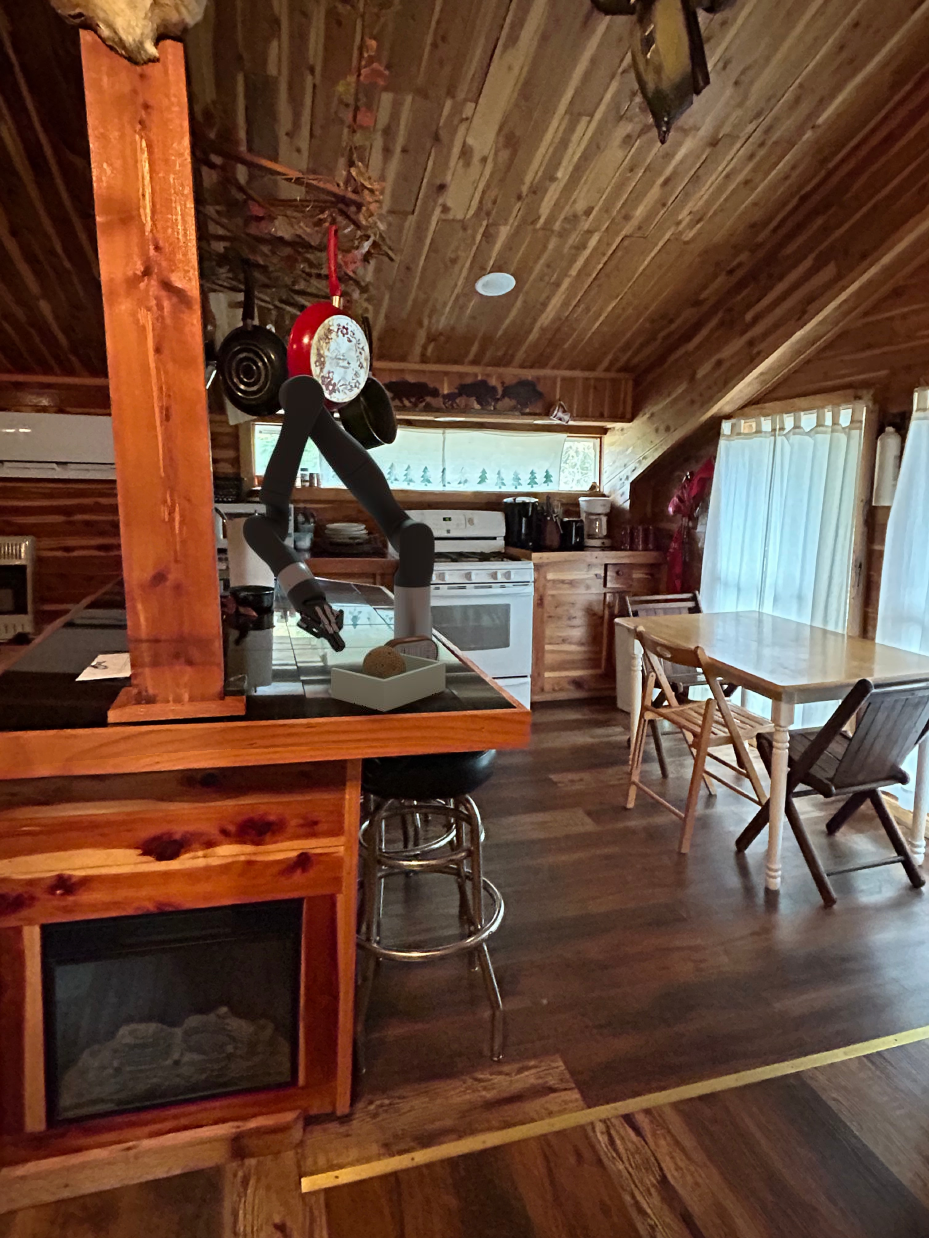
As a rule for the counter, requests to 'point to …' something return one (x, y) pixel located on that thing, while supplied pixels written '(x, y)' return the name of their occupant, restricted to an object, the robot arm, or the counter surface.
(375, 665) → the natural sponge
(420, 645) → the tin
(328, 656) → the counter surface
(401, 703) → the box
